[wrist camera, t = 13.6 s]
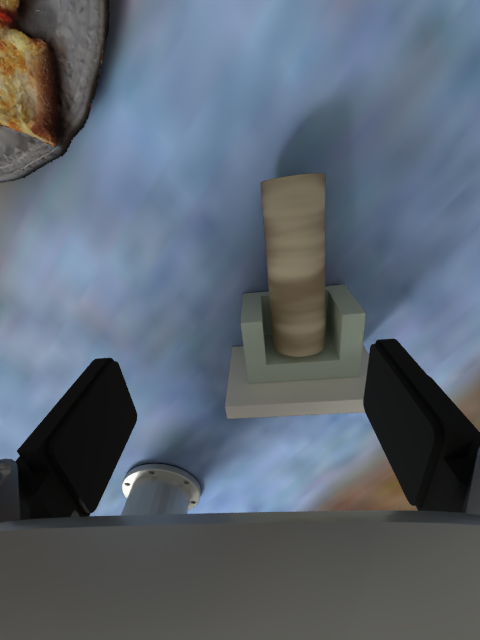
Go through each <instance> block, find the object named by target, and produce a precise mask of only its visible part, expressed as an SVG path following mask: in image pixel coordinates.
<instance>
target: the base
mask: <svg viewBox="0 0 480 640" xmlns="http://www.w3.org/2000/svg"><path fill="white" fill-rule="evenodd" d="M368 361H369V354H368V352H367V350H366V349H365V347H364V345H363V344H362V353H361V362H360V371H359V377H343V378H327V379H310V380H293V381H277V382H260V383H248V376H247V368H246V361H245V354H244V346H238V347H232V352H231V360H230V368H229V377H228V385H227V393H226V402H225V410H226V415H227V419H237V418H257V417H278V416H299V415H319V414H340V413H360V412H365V410H364V406H363V398H364V391H365V383H366V376H367V368H368Z"/></svg>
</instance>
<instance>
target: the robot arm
mask: <svg viewBox="0 0 480 640" xmlns="http://www.w3.org/2000/svg"><path fill="white" fill-rule="evenodd" d="M363 406H364V410H365V412H366V415H367V417H368V419H369V421H370V423H371V425H372V427H373V429H374V431H375V433H376V435H377V438H378V440H379V442H380V444H381V446H382V448H383V450H384V452H385V454H386V456H387V458H388V460H389V463H390V465H391V467H392V469H393V471H394V473H395V475H396V477H397V479H398V481H399V483H400V485H401V488H402V490H403V492H404V494H405V496H406V498H407V500H408V502H409V503H410V504H411V505H412V506H415V505H416V507H417V509H418V511H309V512H252V513H204V514H187V512H188V510H190V509H192V508H194V507H195V506H196V505H197V504H198V502H199V500H200V494H201V488H200V485H199V483H198V482H197V480H196V479H195V478H194V477H193V476H192V475H190V474H189V473H187V472H186V471H184V470H182V469H179V468H177V467H174V466H170V465H165V464H145V465H141V466H138V467H135V468H133V469H132V470H130V471H129V472H128V473H127V474H126V476H125V478H124V480H123V483H122V490H123V493H124V494H125V496H126V497H127V500H126V503H125V506H124V508H123V511H122V514H121V516H89V515H90V513H92V512H94V511H95V510H96V508H97V506H98V504H99V502H100V500H101V497H102V495H103V493H104V491H105V489H106V487H107V484H108V482H109V480H110V478H111V476H112V474H113V471H114V469H115V467H116V465H117V463H118V461H119V458H120V456H121V454H122V452H123V450H124V448H125V445H126V443H127V441H128V439H129V437H130V435H131V432H132V430H133V428H134V426H135V424H136V421H137V412H136V409H135V407H134V404H133V401H132V399H131V396H130V393H129V391H128V388H127V385H126V382H125V380H124V377H123V374H122V372H121V369H120V366H119V364H118V362H116V361H114V360H113V359H112V358H101V359H95V360H93V361H92V362H91V364H90V365H89V366H88V367H87V368H86V370H85V371H84V372H83V373H82V374H81V376H80V377H79V378H78V379H77V380H76V381H75V383H74V384H73V385H72V386H71V387H70V389H69V390H68V391H67V392H66V393H65V395H64V396H63V397H62V398H61V399H60V400H59V402H58V403H57V404H56V405H55V406H54V408H53V409H52V410H51V411H50V412H49V414H48V415H47V416H46V417H45V418H44V419H43V421H42V422H41V423H40V424H39V425H38V427H37V428H36V429H35V430H34V431H33V432H32V434H31V435H30V436H29V437H28V438H27V440H26V441H25V442H24V443H23V444H22V446H21V447H20V448H19V449H18V450H17V452H18V453H19V455H20V457H19V458H18V459H17V460H16V461H14V460H12V459H1V460H0V640H480V432H479V431H478V430H477V429H476V428H475V427H474V425H473V424H472V423H471V422H470V421H469V420H468V419H467V418H466V416H465V415H464V414H463V413H462V412H461V411H460V410H459V408H458V407H457V406H456V405H455V404H454V403H453V402H452V401H451V399H450V398H449V397H448V396H447V395H446V394H445V393H444V391H443V390H442V389H441V388H440V387H439V386H438V385H437V384H436V382H435V381H434V380H433V379H432V378H431V377H430V376H428V375H427V374H426V373H425V372H424V371H423V370H422V368H421V367H420V366H419V365H418V364H417V363H416V362H415V360H414V359H413V358H412V357H411V356H410V355H409V354H408V352H407V351H406V350H405V349H404V348H403V347H402V346H401V344H400V343H399V342H398V341H397V340H396V339H383V340H377V341H376V343H375V344H372V345H371V347H370V353H369V361H368V368H367V376H366V383H365V391H364V398H363Z"/></svg>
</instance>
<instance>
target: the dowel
mask: <svg viewBox="0 0 480 640" xmlns="http://www.w3.org/2000/svg"><path fill="white" fill-rule="evenodd" d="M261 195H262V208H263V221H264V235H265V248H266V261H267V274H268V287H269V300H270V313H271V326H272V339H273V348H274V349H275V350H276V351H277V352H279V353H281V354H283V355H287V356H294V357H303V356H310V355H314V354H317V353H319V352H321V351H322V350H323V349H324V348H325V173H311V174H301V175H293V176H286V177H280V178H275V179H270V180H266V181H263V182H261Z"/></svg>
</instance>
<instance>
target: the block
mask: <svg viewBox="0 0 480 640" xmlns="http://www.w3.org/2000/svg"><path fill="white" fill-rule="evenodd" d="M365 317H366V312H365V311H364V310H363V308H362V307H361V306H360V304H359V303H358V302H357V300H356V299H355V298H354V296H353V295H352V294H351V292H350V291H349V290H348V288H347V287H346V286H345V284H343V285H332V286H325V348H324V349H323V350H322V351H321V352H319V353H317V354H314V355H310V356H303V357H294V356H287V355H283V354H281V353H279V352H277V351H276V350H275V349H274V348H273V339H272V326H271V313H270V300H269V291H267V292H256V293H245V294H243V298H242V310H241V322H240V324H241V332H242V339H243V346H244V354H245V361H246V368H247V376H248V383H260V382H277V381H293V380H310V379H327V378H343V377H359V371H360V362H361V353H362V344H363V335H364V326H365Z"/></svg>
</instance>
